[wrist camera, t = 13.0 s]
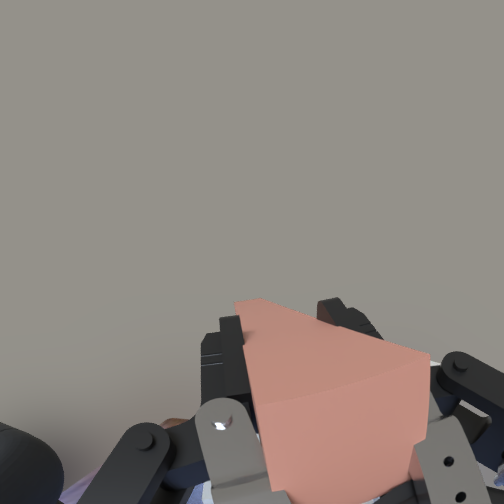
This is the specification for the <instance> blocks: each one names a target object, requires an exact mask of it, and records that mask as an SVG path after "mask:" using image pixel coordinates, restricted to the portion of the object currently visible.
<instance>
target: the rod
mask: <svg viewBox="0 0 504 504" xmlns="http://www.w3.org/2000/svg"><path fill="white" fill-rule="evenodd" d="M234 305H235V311H236V315H239V316H240V321H241V327H242V332H243V338H244V343H245V345H243V350H244V356H245V361H246V367H247V372H248V378H249V383H250V388H251V394H252V400H253V405H254V411H255V417H256V423H257V428H258V434H259V439H260V444H261V446H262V449H263V454H264V459H265V463H266V468H267V472H268V476H269V481H270V485H271V489H272V492H275V491H280V490H285V492H286V494H287V496H288V498H289V500H290V502H291V504H362V503H365V502H367V501H370V500H372V499H375V498H377V497H380V496H382V495H384V494H386V493H388V492H389V491H391V490H392V489H393V488H396V487H398V486H400V485H402V484H404V483H406V482H408V481H410V480H412V477H411V475H410V473H409V472H408V468H409V464H410V460H411V455H412V451H413V446H414V445H415V444H417V443H419V442H421V441H422V440H424V439H426V432H427V422H428V411H429V396H430V354H427V353H423V352H421V351H417V350H414V349H410V348H407V347H404V346H400V345H397V344H393V343H391V342H387V341H384V340H381V339H378V338H375V337H372V336H368V335H365V334H362V333H359V332H356V331H353V330H350V329H347V328H344V327H341V326H338V327H337V326H334V325H331V324H328V323H325V322H322V321H320V320H317V318H315V317H311V316H308V315H306V314H303V313H300V312H297V311H295V310H292V309H289V308H286V307H283V306H281V305H278V304H275V303H272V302H270V301H267V300H264V299H262V298H258V299H252V300H246V301H239V302H234Z"/></svg>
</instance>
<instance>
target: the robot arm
mask: <svg viewBox="0 0 504 504" xmlns="http://www.w3.org/2000/svg"><path fill="white" fill-rule="evenodd" d="M317 320H320V321H322V322H325V323H328V324H331V325H334V326H337V327H338V326H341V327H344V328H347V329H350V330H353V331H356V332H359V333H362V334H365V335H368V336H372V337H375V338H378V339H381V340H384V339H383V338H382V337H381V335H380V334H379V333H378V332H376V329H375V328H374V326H373V325H372V324H371V323H370V321H369V320H368V319H367V317H366V316H365V315H364V314H363V313H362V312H360V311H358V310H357V309H355V308H348V309H347V308H346V307H345V305H344V304H343V303H342V301H341V300H340V299H339V298H338V297H336V298H332V299H327V300H322V301H319V302H318V305H317ZM219 321H220V332H215V333H207V334H206V336H205V338H204V339H203V341H202V343H201V406H200V408H199V410H198V411H197V413H196V415H195V416H194V417H192V418H191V419H190V420H188V421H187V422H185V423H182V424H180V425H177V426H174V427H171V428H167V429H163V428H162V427H161V426H159V425H157V424H154V423H140V424H136V425H134V426H132V427H131V428H129V429H128V430H127V431H126V432H125V433H124V435H123V436H122V438H121V439H120V441H119V442H118V444H117V445H116V447H115V448H114V449H113V451H112V452H111V454H110V455H109V457H108V458H107V460H106V461H105V463H104V464H103V465H102V467H101V468H100V470H99V471H98V473H97V474H96V476H95V477H94V479H93V480H92V482H91V483H90V485H89V486H88V487H87V489H86V490H85V492H84V493H83V495H82V496H81V498H80V499H79V501H78V502H77V504H186V503H187V501H188V499H189V497H190V495H191V493H192V491H193V489H194V487H195V485H198V484H201V483H204V482H207V481H211V495H212V499H213V503H214V504H291V502H290V500H289V498H288V496H287V494H286V492H285V490H280V491H275V492H272V489H271V485H270V481H269V476H268V472H267V468H266V463H265V459H264V454H263V449H262V446H261V444H260V442H259V439H258V437H257V435H256V434H258V428H257V423H256V417H255V411H254V405H253V400H252V394H251V388H250V383H249V378H248V372H247V367H246V361H245V356H244V350H243V345H245V343H244V338H243V332H242V327H241V321H240V316H239V315H235V316H228V317H221V318H220V319H219ZM461 400H464V401H466V402H467V403H469V404H471V405H472V406H474V407H476V408H477V409H479V410H481V411H482V412H484V413H486V414H488V415H489V416H487V417H480V416H478V415H477V414H475V413H473V412H471V411H470V410H468V409H466V408H465V407H463V406H461V405H459V403H460V401H461ZM477 461H478V462H479V463H481V464H483V465H484V466H486V467H488V468H490V469H492V470H493V471H495V472H497V473H498V474H497V475H496V476H495V477H494V484H495V485H496V486H501V485H503V486H504V373H502V372H500V371H498V370H496V369H494V368H492V367H490V366H489V365H487V364H485V363H483V362H481V361H479V360H478V359H475V358H474V357H472V356H470V355H468V354H466V353H463V352H457V351H456V352H451V353H448V354H447V355H446V356H445V357H444V358H443V360H442V362H441V365H436V366H430V396H429V411H428V422H427V432H426V439H424V440H422V441H421V442H419V443H417V444H415V445H414V446H413V451H412V455H411V460H410V464H409V468H408V472H409V473H410V475H411V477H412V480H410V481H408V482H406V483H404V484H402V485H400V486H398V487H396V488H393V489H392V490H391V491H389V492H388V493H386V494H384V495H382V496H380V497H377V498H375V499H373V502H374V503H373V504H504V490H500V489H496V488H492V487H488V486H486V485H485V482H484V480H483V477H482V474H481V472H480V469H479V466H478V464H477ZM63 484H64V471H63V467H62V463H61V461H60V459H59V457H58V456H57V454H56V453H55V451H54V450H53V449H52V448H51V447H50V446H48V445H47V444H46V443H45V442H43V441H41V440H40V439H38V438H36V437H34V436H32V435H30V434H29V433H26V432H24V431H21V430H18V429H16V428H13V427H11V426H9V425H6V424H3V423H1V422H0V504H64V503H62V502H61V501H59V500H58V499H59V497H60V495H61V493H62V490H63Z"/></svg>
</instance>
